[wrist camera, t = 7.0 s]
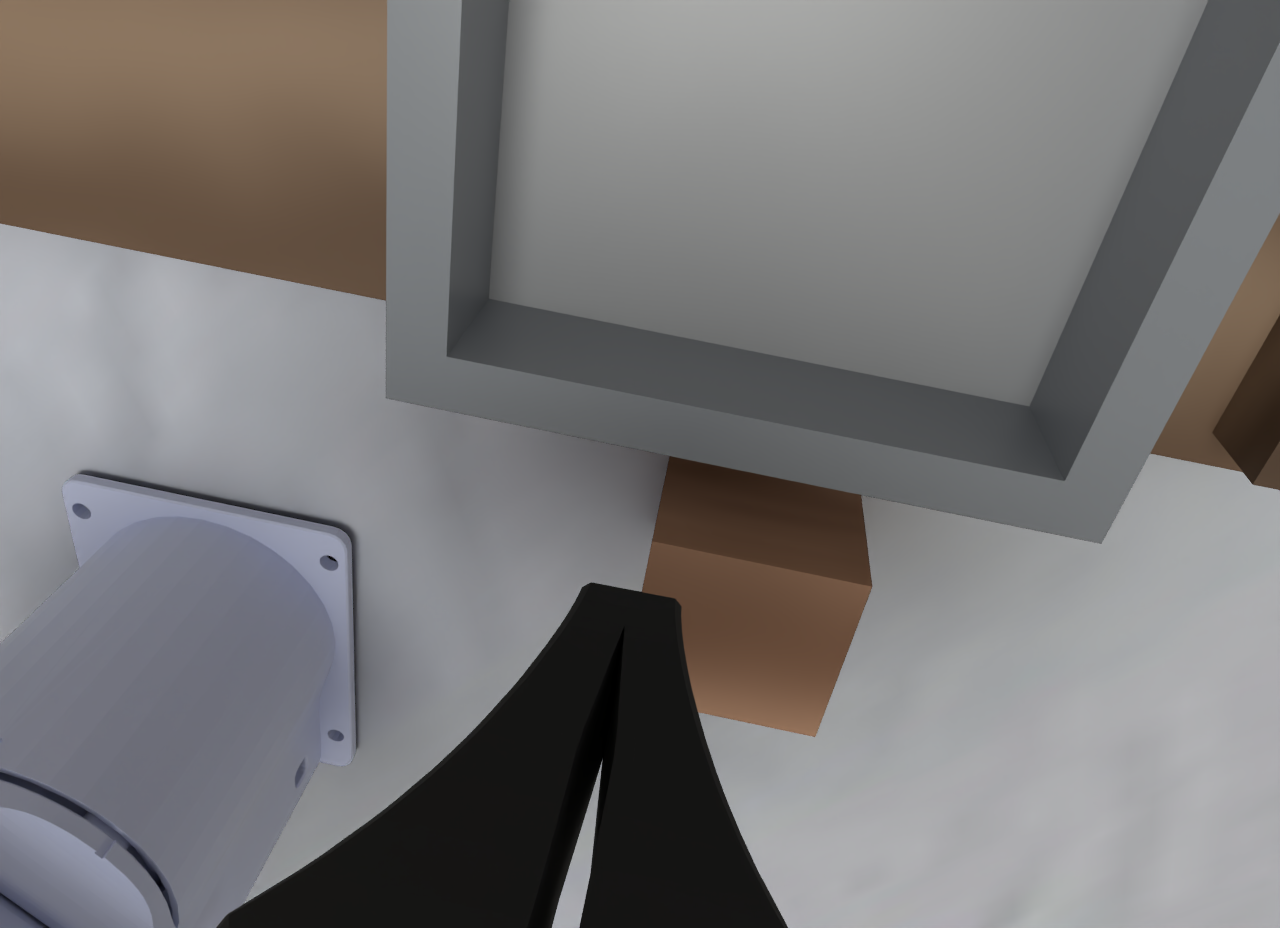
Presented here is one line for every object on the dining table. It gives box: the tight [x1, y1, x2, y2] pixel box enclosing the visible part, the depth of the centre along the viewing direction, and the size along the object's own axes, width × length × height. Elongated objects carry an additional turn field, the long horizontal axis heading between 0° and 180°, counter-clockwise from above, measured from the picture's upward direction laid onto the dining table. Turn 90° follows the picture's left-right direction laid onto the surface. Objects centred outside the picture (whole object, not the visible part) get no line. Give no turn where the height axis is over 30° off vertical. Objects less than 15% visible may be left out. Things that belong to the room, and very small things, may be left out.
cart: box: [386, 0, 1280, 544], centre depth 14 cm, size 13×12×5 cm
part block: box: [642, 456, 872, 737], centre depth 20 cm, size 4×4×6 cm
